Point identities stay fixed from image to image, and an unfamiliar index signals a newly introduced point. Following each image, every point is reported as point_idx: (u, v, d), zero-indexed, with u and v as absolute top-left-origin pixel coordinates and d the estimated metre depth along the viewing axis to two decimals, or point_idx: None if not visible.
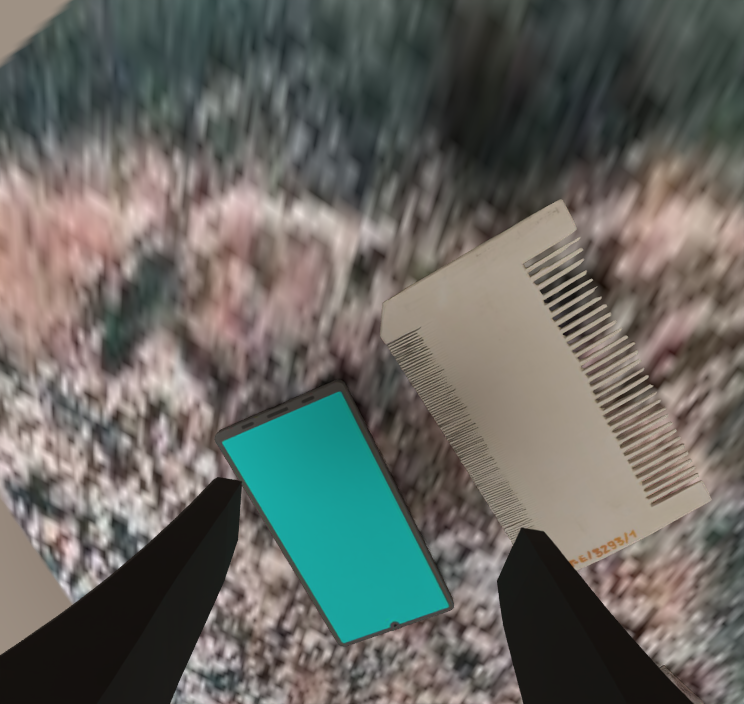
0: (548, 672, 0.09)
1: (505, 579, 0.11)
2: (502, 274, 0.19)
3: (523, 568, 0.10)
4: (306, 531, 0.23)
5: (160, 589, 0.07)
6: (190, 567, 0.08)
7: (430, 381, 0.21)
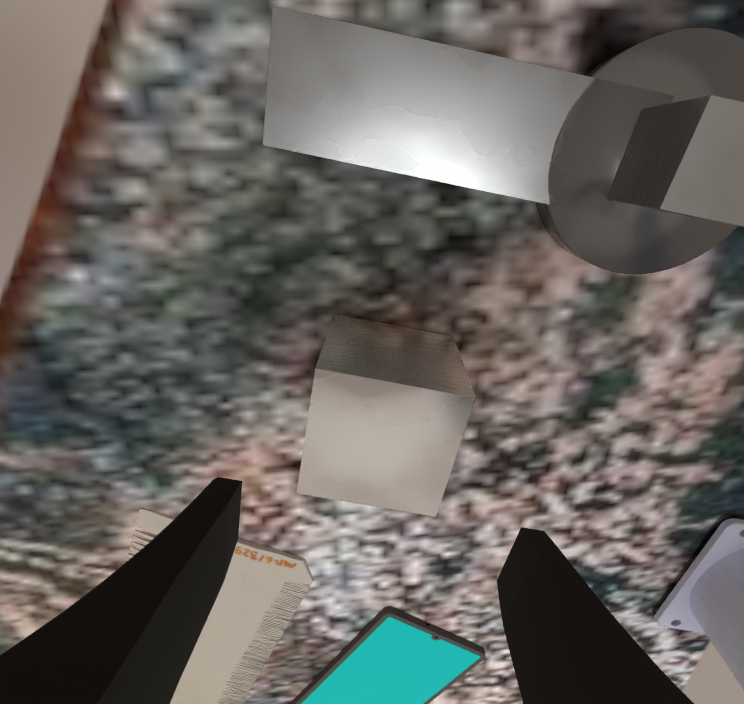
0: (548, 672, 0.09)
1: (505, 579, 0.11)
2: None
3: (523, 568, 0.10)
4: None
5: (160, 589, 0.07)
6: (190, 567, 0.08)
7: (235, 690, 0.29)
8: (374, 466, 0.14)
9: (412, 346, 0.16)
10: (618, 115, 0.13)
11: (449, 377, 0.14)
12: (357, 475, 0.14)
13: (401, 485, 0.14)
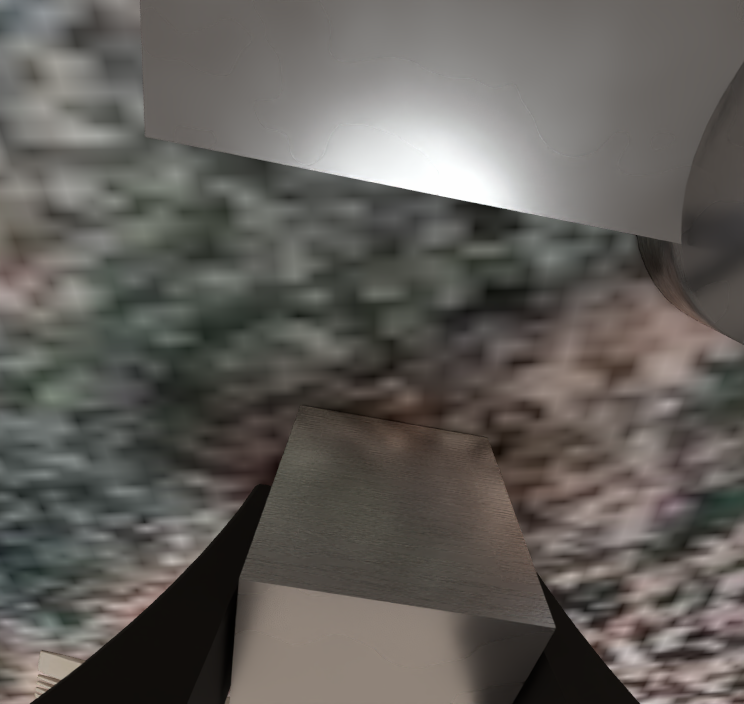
0: None
1: None
2: None
3: None
4: None
5: (222, 599, 0.07)
6: None
7: None
8: None
9: (426, 475, 0.09)
10: None
11: (497, 563, 0.08)
12: None
13: None
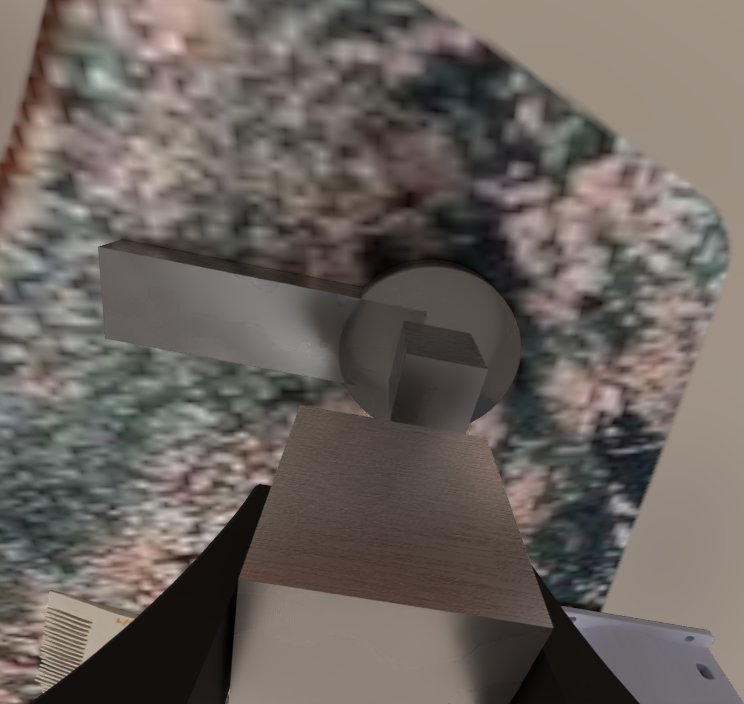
0: None
1: None
2: None
3: None
4: None
5: (222, 599, 0.07)
6: None
7: None
8: None
9: (424, 475, 0.09)
10: (386, 324, 0.16)
11: (496, 563, 0.08)
12: None
13: None
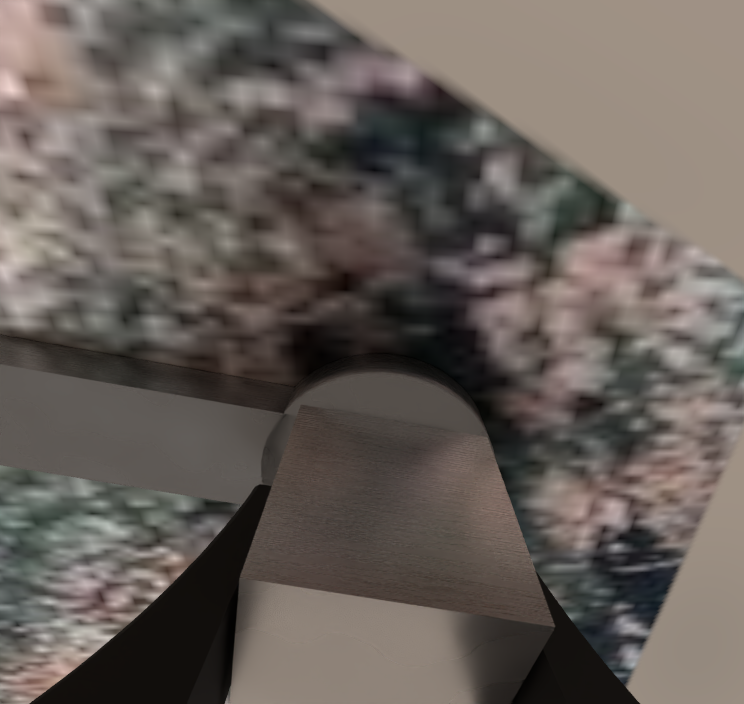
0: None
1: None
2: None
3: None
4: None
5: (222, 599, 0.07)
6: None
7: None
8: None
9: (425, 474, 0.09)
10: None
11: (497, 563, 0.08)
12: None
13: None
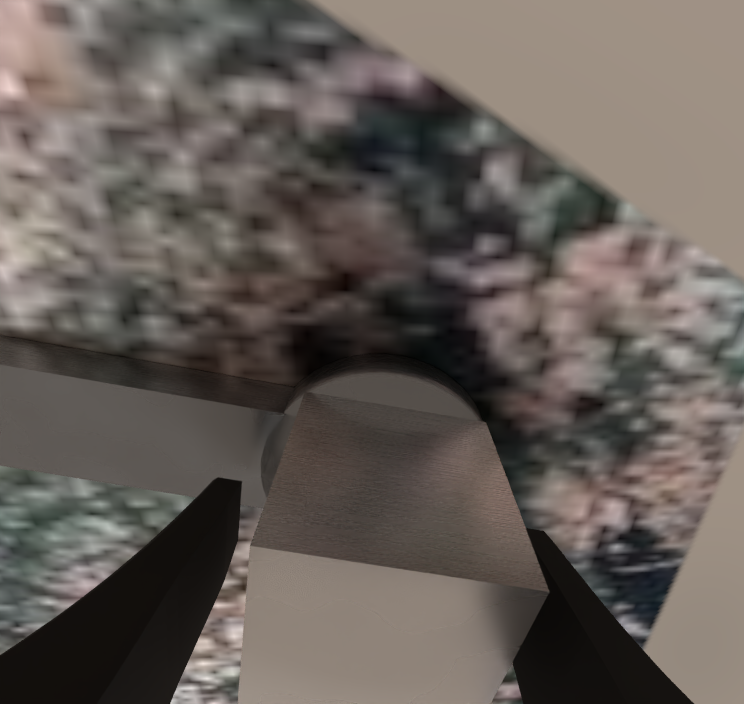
0: (548, 672, 0.09)
1: None
2: None
3: None
4: None
5: (160, 589, 0.07)
6: (190, 567, 0.08)
7: None
8: (365, 682, 0.08)
9: (426, 455, 0.10)
10: None
11: (494, 534, 0.08)
12: (337, 693, 0.08)
13: None
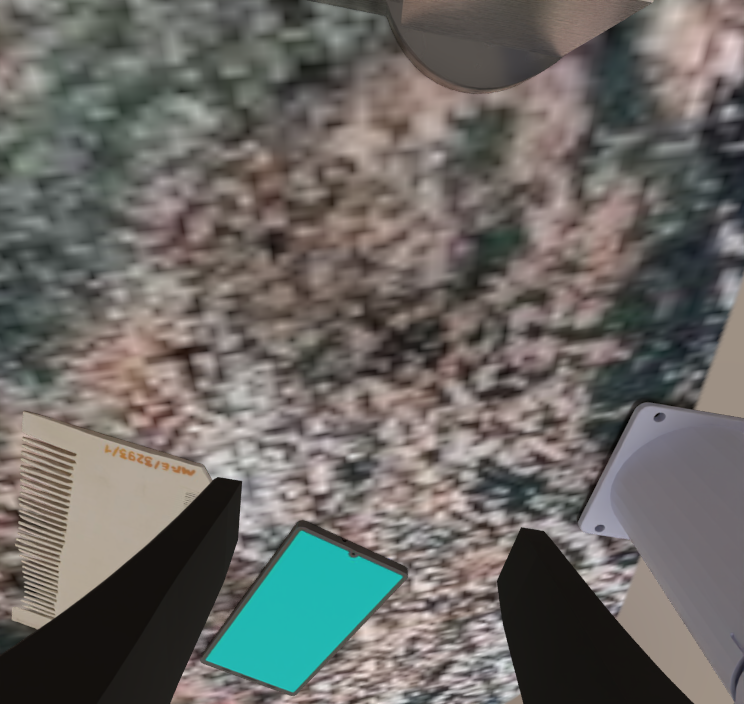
0: (548, 672, 0.09)
1: (505, 579, 0.11)
2: None
3: (523, 568, 0.10)
4: (317, 636, 0.27)
5: (160, 589, 0.07)
6: (190, 567, 0.08)
7: None
8: None
9: None
10: None
11: None
12: None
13: None
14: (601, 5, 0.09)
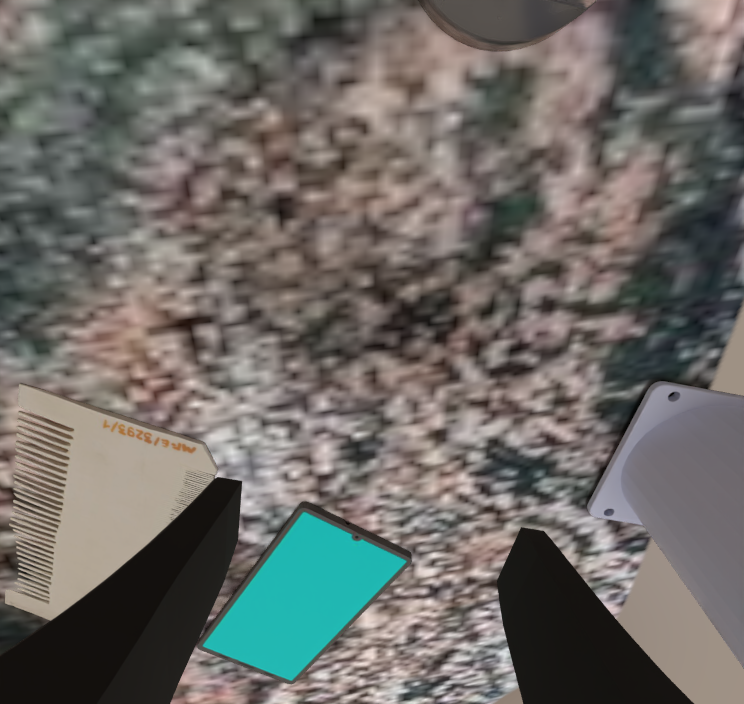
0: (548, 672, 0.09)
1: (505, 579, 0.11)
2: (63, 610, 0.27)
3: (523, 568, 0.10)
4: (317, 623, 0.26)
5: (160, 589, 0.07)
6: (190, 567, 0.08)
7: None
8: None
9: None
10: None
11: None
12: None
13: None
14: None
